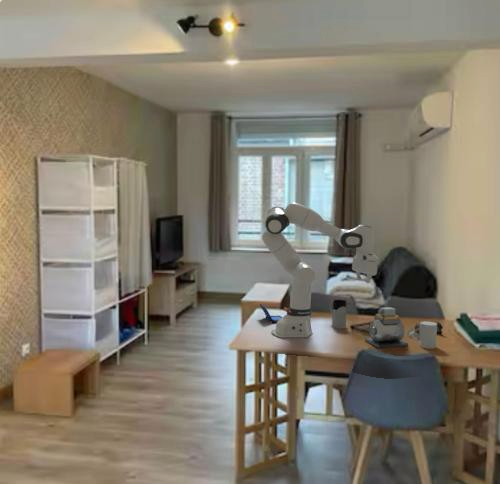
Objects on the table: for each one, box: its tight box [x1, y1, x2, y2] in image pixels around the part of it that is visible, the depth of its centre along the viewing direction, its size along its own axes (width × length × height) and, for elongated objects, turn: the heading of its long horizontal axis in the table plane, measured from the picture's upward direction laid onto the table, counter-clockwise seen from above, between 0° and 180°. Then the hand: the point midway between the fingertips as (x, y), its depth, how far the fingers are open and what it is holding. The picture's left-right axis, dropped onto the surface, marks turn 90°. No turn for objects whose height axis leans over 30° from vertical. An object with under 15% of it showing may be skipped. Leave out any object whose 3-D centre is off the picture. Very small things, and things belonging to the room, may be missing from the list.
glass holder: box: [329, 299, 347, 329], centre depth 320 cm, size 9×14×15 cm, turn 24°
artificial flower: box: [406, 322, 444, 340], centre depth 301 cm, size 9×22×10 cm, turn 114°
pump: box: [377, 306, 396, 317], centre depth 283 cm, size 8×4×5 cm, turn 108°
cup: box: [418, 321, 438, 350], centre depth 280 cm, size 8×8×12 cm
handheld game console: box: [259, 304, 283, 324], centre depth 330 cm, size 16×13×9 cm
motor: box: [364, 313, 409, 349], centre depth 284 cm, size 17×14×15 cm
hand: (363, 281), depth 291 cm, fingers open, 8 cm apart
